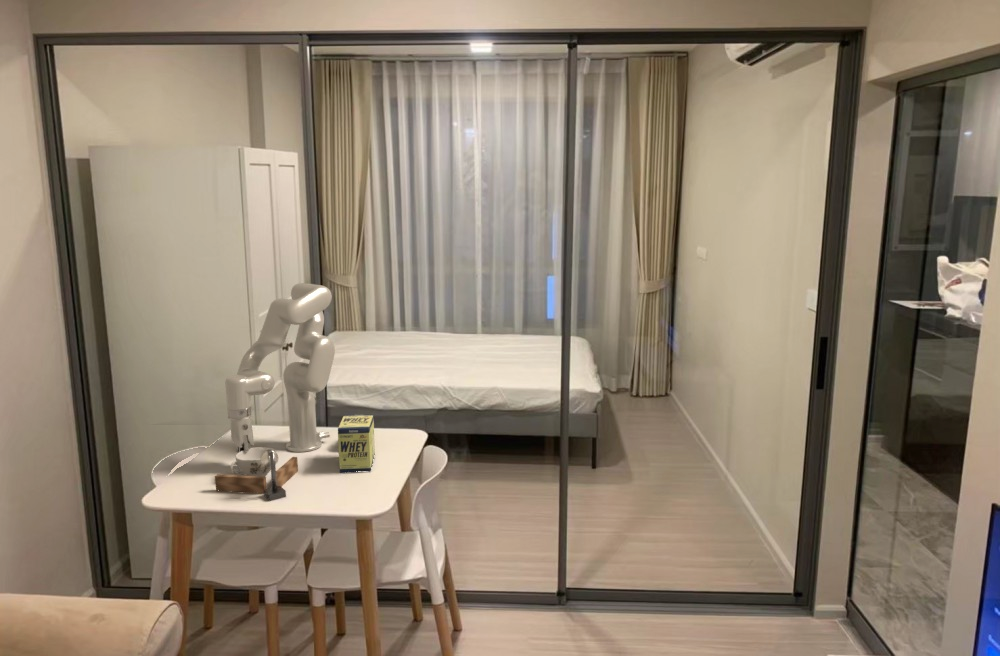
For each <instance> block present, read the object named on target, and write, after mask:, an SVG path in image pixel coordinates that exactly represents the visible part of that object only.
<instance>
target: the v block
mask: <svg viewBox="0 0 1000 656" xmlns="http://www.w3.org/2000/svg"><path fill="white" fill-rule="evenodd" d="M298 471H299V463H298V456H292V457H291V458H289V459H288V460H287V461H286V462H285V463H284V464H282V465H281V466H280V467H279V468H278V469H276V481H277V486H281V487H282V488H283V486H284V485H285V484H286V483H287V482H288V481H289V480H291V479H292V477H294V476H295V475H296V474H297V473H298ZM270 478H271V477H270ZM271 480H272V478H271ZM214 482H215V492H220V491H232V492H231V493H238V492H243V493H244V494H256V495H257V494H259V495H260V494H261V495H264V489H268V488H267V476H265V477H262V476H246V475H244V474H222V473H221V474H218V473H217V474H216V475H214ZM218 490H219V491H218Z"/></svg>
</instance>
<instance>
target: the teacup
mask: <svg viewBox="0 0 1000 656" xmlns="http://www.w3.org/2000/svg"><path fill="white" fill-rule="evenodd" d="M267 450H272V451H274V452H277V450H276V449H275V448H272V447H268V446H267V447H264V446H263V447H262V446H257V447H256V446H255V447H250V448H249V451H247V452H245V451H244V450H243V451H241V452H239V453H237V452H236V455H235V461H232V462H231V463H230V466H229V469H230V471H231V473H233V475H243V476H262V477H267V475H268V474H269V473H270V472H271V468H267V467H264V466H263V465H262V464H261V462H260V458H261V455H262V454H263V453H264V452H265V451H267ZM234 466H237V467H238V469H239V470H240V471H235V470H234Z"/></svg>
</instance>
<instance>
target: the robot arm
mask: <svg viewBox="0 0 1000 656" xmlns="http://www.w3.org/2000/svg"><path fill="white" fill-rule="evenodd" d="M290 296H291V298H276V299H274V300H273V301H272V302H271V303H270V305H269V308H268V311H267V313H266V317H265V319H264V322H263V325H262V328H261V331H260V334H259V337H258V339H257V340H256V341H255V342H254V343H253V344H252V345H251V346H250V348H249V349H248V350H247V351H246V352H245V353H244V355H243V357H242V359H241V360H240V364H239V367H238V370H237V373H236V374H235V375H231V376H227V378H226V379H225V380H224V384H225V386H224V387H225V396H226V397H225V398H226V410H227V411H226V412H227V419H228V420H230V437H231V442H233V443H234V445H235V446H236V454H237V453H239V452H241V451H243V450H244V451H245V452H247V451H249V449H250V448H249V445H250V446H251V447H253V446H254V445H255V441H254V440H255V439H254V431H253V425H252V419H251V417H252V404H251V403H252V402H251V400H252V399H251V396H260V395H267V394H269V393H270V392H272V390H273V389H274V387H275V382H276V381H275V379H274V377H273V376H272V375H271V374H270V373H267V372H266V371H265V372H264V371H260V370H259V368H260V367H261V364H262V362H263V361H264V360H265V358H266V357H267V356H269V355H270V354H272V353H274V352H276V351H278V350H279V349H283V347H284V345H285V342H286V339H287V336H288V334H289V330H290V326H291V325H294V326H298V329H297V333H296V336H295V342H294V345H293V350H294V354H295V355H296V356H297V357H298V358H301V359H304V360H307V361H309V363H308V362H307V363H306V362H303V361H294V362H291V363H288V365H287V366H286V367H285V368H284V370H283V373H282V374H283V375H282V376H283V383H284V387H285V391H286V397H287V398H286V399H287V411H288V412H287V413H288V426H289V427H288V428H289V441H288V442H287V443H286V444H285V449H287V451H288V452H293V453H304V452H311V451H314V450H316V449H319V448H320V447H321V446H322V439H328V438H330V436H331V435H330V432H329V431H328V432H324V431H320V432H318V431H317V417H316V416H317V415H316V400H315V399H316V398H315V394H314V393H319V392H322V391H323V390H324V389H325V388H326V386H327V384H328V383H329V379H330V377H331V376H330V374H331V372H332V367H333V366H332V365H333V361H334V358H335V351H336V349H335V345H334V342H333V340H332V339H331V338H330V337H329V336H327V335H323V331H324V325H325V315H324V312H323V311H325V310H326V309H327V308H328V307H329V306H330V304H331V302H332V298H333V296H332V292H331V290H330V289H329V288H328V287H327V286H325V285H321V284H315V283H307V282H306V283H305V282H303V283H302V282H301V283H300V282H299V283H297V284H294V285H293V286H292V288H291V291H290Z"/></svg>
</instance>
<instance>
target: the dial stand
mask: <svg viewBox="0 0 1000 656" xmlns="http://www.w3.org/2000/svg"><path fill="white" fill-rule="evenodd" d="M276 452H277V451H276ZM276 452H274V451H272V450H267V451H265V452H264V453H263V454H262V455H261V458H260V462H261V464H262V465H263V466H264V467H267V468H271V470H270V474H271V475H270V478H272V479H271V487H268V488H267V489H264V494H263V496H264V497H265V498H266V499H267V500H268V501H269V502H271V501H275V500H280V499H283V498H287V493H286V492H287V491H286V490H285V489H284V488H283V486H282V487H281V486H277V481H276V471H277V469H276V465H277V464H278V462H279V455H278V453H276Z"/></svg>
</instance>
